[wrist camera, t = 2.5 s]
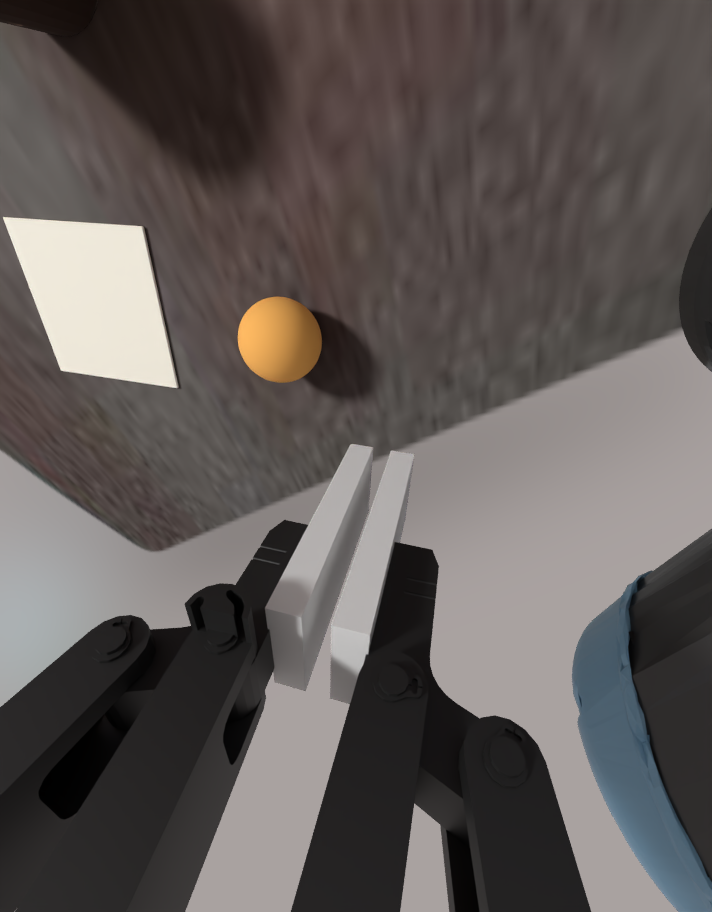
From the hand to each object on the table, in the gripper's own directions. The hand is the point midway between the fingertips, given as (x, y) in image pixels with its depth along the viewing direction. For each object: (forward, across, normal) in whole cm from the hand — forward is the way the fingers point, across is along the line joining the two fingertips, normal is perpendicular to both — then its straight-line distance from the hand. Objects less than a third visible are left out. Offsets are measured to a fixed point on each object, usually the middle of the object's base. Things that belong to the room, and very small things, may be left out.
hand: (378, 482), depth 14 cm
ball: (+14, +10, 0) cm, 17 cm away
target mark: (+16, +26, 0) cm, 31 cm away
